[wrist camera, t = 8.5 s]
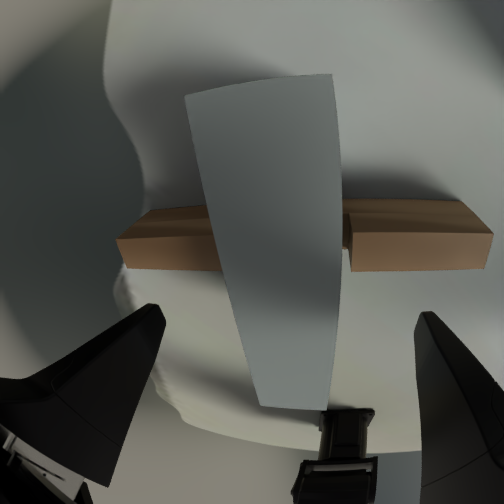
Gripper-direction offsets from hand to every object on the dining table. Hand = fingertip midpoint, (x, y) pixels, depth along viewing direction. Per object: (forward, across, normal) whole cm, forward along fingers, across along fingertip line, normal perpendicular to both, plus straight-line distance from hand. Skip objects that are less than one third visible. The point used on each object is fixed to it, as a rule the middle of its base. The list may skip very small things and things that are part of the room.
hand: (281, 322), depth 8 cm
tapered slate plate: (+8, 0, 0) cm, 8 cm away
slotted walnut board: (+8, 0, 0) cm, 8 cm away
